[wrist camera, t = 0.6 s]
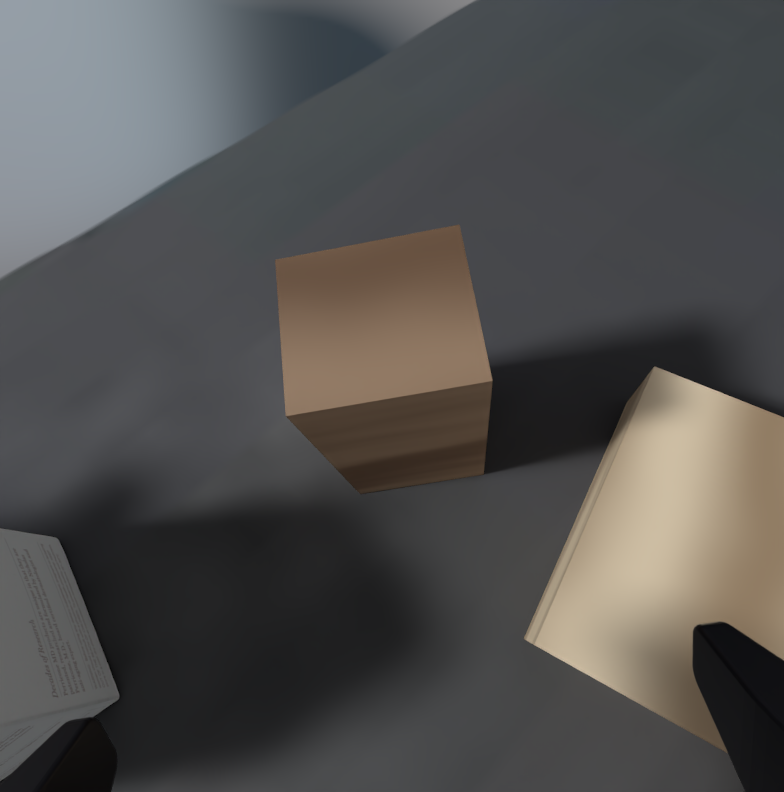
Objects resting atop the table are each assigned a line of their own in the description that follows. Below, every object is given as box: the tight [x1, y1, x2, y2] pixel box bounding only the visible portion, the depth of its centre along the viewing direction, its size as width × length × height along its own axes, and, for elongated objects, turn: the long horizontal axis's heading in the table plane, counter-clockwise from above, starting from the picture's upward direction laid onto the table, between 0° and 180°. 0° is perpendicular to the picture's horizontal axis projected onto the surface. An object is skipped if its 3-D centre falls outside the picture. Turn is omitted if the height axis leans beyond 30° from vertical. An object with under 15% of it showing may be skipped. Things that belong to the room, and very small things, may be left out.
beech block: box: [524, 366, 784, 753], centre depth 19 cm, size 10×10×4 cm
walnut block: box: [275, 225, 493, 494], centre depth 19 cm, size 4×5×10 cm
